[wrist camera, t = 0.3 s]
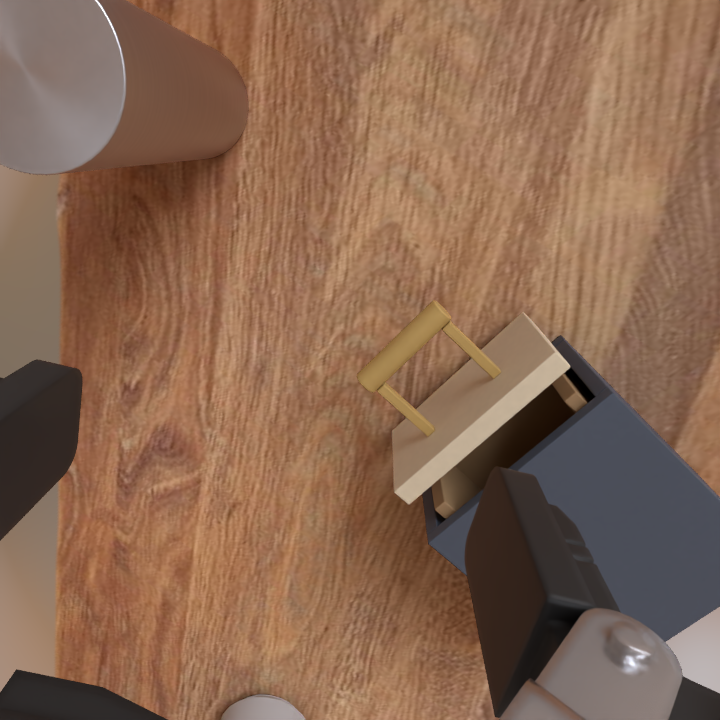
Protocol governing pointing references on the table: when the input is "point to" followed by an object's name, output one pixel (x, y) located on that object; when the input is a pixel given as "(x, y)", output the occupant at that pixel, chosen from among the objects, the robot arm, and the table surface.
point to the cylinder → (109, 89)
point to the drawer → (473, 407)
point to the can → (262, 709)
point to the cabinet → (619, 508)
